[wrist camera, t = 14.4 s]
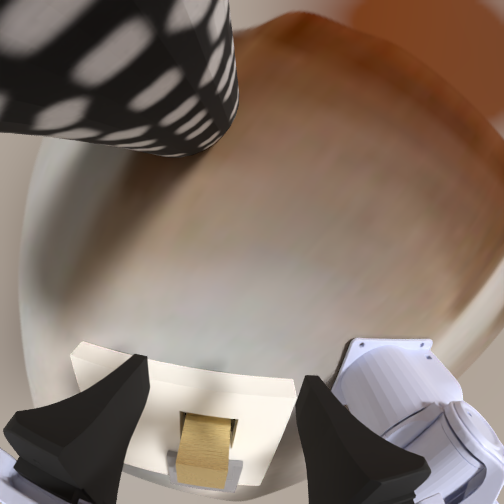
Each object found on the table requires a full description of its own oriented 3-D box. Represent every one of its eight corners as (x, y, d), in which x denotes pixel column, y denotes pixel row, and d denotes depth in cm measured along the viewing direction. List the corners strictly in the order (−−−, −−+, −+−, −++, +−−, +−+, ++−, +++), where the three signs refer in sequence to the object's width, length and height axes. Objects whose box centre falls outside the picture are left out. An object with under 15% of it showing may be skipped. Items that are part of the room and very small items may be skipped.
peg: (231, 403, 23) (228, 471, 16) (227, 426, 24) (223, 489, 17) (190, 397, 23) (175, 463, 16) (189, 421, 24) (177, 482, 17)
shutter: (243, 460, 23) (242, 481, 20) (234, 487, 25) (234, 504, 22) (167, 450, 22) (163, 469, 20) (171, 478, 24) (168, 495, 22)
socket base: (293, 379, 23) (297, 397, 20) (259, 471, 27) (259, 485, 25) (82, 340, 22) (70, 354, 19) (110, 443, 26) (105, 456, 24)
